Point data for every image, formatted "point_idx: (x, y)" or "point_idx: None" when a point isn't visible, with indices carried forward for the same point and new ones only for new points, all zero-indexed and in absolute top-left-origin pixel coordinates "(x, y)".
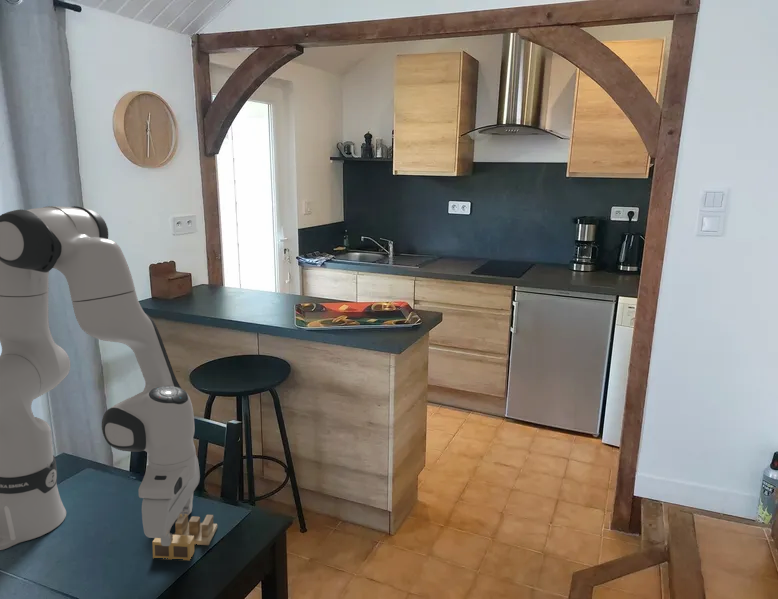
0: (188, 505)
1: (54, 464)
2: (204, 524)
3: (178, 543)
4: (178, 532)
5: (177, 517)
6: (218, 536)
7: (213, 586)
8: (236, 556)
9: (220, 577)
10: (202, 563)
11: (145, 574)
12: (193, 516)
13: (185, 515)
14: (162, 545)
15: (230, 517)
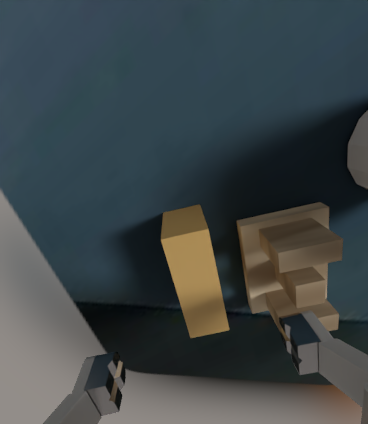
0: (326, 376)
1: None
2: None
3: (183, 312)
4: (264, 242)
5: (355, 175)
6: None
7: (133, 366)
8: (226, 362)
9: (160, 365)
10: None
11: (101, 233)
12: (325, 284)
13: (282, 338)
14: (88, 358)
15: (364, 295)
